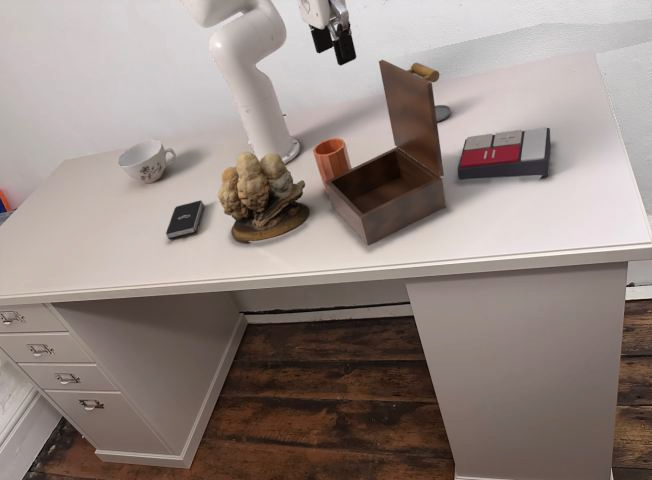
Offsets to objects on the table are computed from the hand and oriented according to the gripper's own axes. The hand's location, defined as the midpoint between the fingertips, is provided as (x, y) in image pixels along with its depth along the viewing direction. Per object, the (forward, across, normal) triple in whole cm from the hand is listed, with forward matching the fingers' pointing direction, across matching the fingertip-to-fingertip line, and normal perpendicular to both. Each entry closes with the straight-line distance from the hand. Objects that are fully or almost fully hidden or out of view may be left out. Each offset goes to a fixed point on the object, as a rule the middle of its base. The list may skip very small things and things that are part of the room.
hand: (335, 55), depth 90 cm
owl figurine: (+27, -3, -21) cm, 34 cm away
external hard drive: (+27, -18, -37) cm, 50 cm away
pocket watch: (+27, -15, +23) cm, 39 cm away
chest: (+27, +10, -1) cm, 29 cm away
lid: (+12, +10, +7) cm, 17 cm away
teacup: (+27, -49, -40) cm, 69 cm away
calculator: (+28, +12, +23) cm, 38 cm away
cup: (+27, -4, -5) cm, 28 cm away
